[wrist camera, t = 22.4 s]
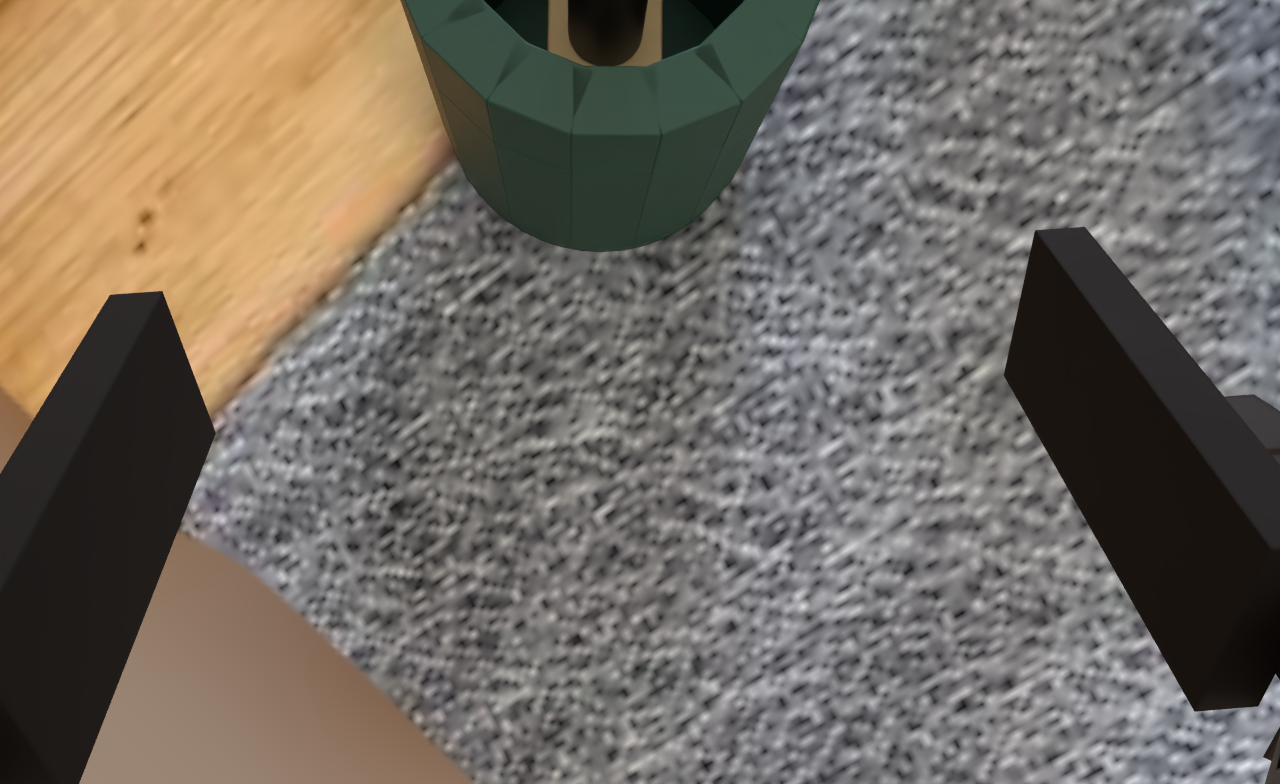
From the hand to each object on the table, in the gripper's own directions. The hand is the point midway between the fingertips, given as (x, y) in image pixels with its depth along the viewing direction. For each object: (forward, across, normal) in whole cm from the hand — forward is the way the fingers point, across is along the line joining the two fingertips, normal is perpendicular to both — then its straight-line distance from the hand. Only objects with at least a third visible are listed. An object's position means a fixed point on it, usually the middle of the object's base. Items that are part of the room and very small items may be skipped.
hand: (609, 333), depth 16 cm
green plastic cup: (+22, 0, -5) cm, 23 cm away
